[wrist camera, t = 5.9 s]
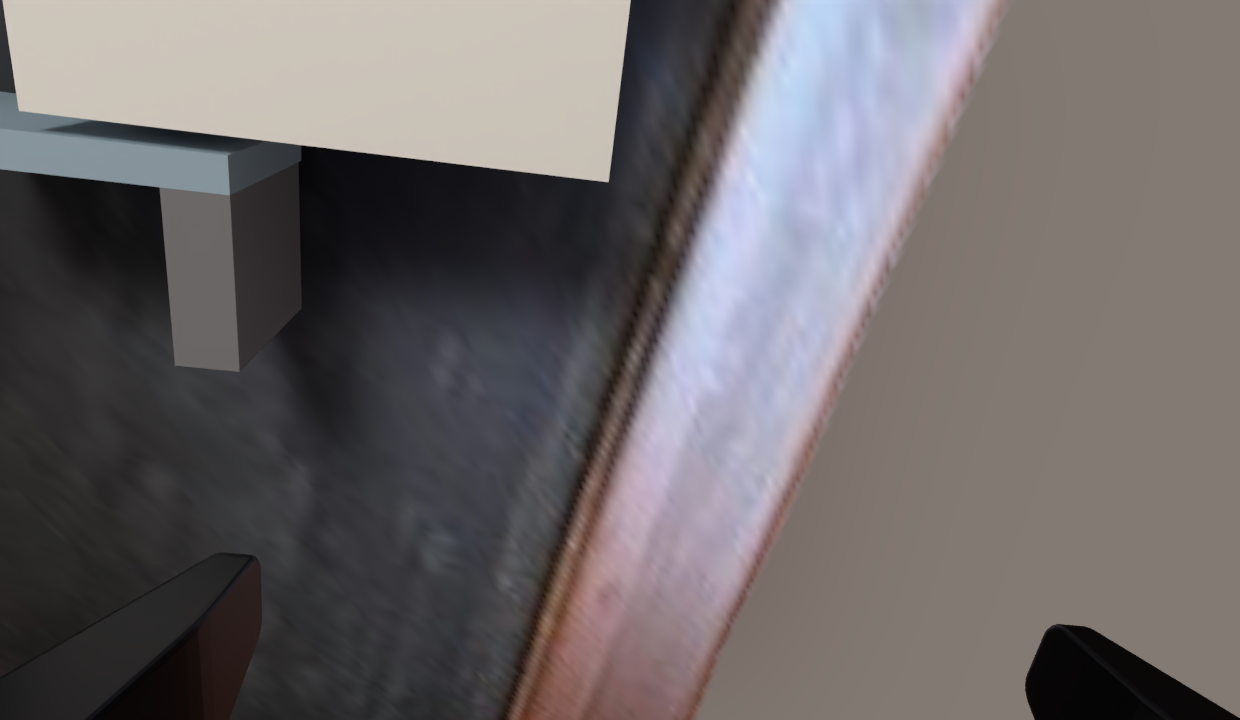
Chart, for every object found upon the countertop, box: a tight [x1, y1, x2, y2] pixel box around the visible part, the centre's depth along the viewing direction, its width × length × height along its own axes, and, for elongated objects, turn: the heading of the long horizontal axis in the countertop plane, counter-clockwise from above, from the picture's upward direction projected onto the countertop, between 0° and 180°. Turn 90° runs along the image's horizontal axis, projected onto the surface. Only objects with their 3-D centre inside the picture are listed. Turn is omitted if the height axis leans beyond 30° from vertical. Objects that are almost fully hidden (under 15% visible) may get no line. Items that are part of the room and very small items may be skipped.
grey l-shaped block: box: [0, 92, 302, 372], centre depth 16 cm, size 4×6×4 cm, turn 83°
